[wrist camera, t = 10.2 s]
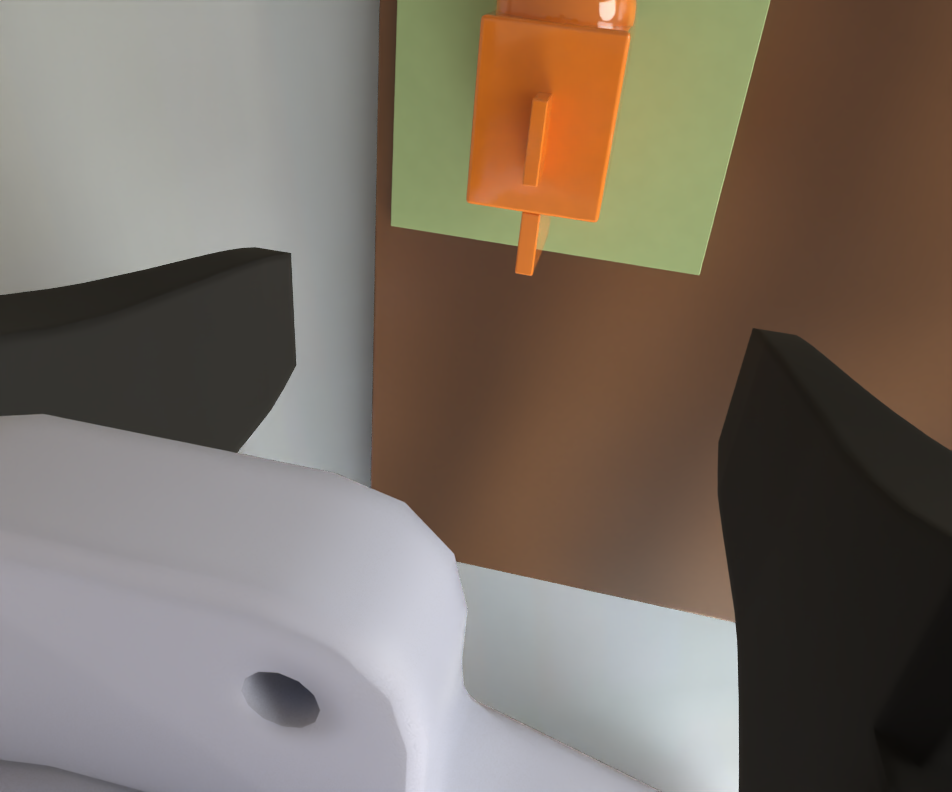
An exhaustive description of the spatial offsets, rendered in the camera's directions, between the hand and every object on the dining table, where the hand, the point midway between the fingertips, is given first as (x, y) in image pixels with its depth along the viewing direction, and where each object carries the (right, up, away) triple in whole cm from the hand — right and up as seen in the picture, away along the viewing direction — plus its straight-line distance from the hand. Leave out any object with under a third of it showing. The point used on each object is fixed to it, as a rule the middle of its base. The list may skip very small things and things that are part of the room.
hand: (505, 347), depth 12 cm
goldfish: (+2, +6, +5) cm, 9 cm away
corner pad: (+2, +6, +6) cm, 9 cm away
